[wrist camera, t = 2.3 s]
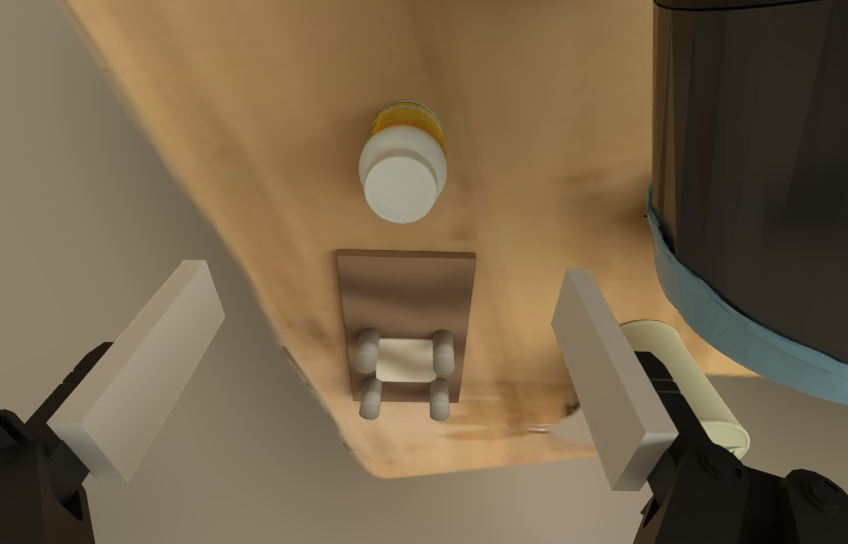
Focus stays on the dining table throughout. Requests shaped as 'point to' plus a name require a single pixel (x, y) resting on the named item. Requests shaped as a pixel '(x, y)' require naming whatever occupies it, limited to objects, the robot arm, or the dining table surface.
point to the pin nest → (406, 325)
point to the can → (689, 382)
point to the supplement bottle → (403, 162)
